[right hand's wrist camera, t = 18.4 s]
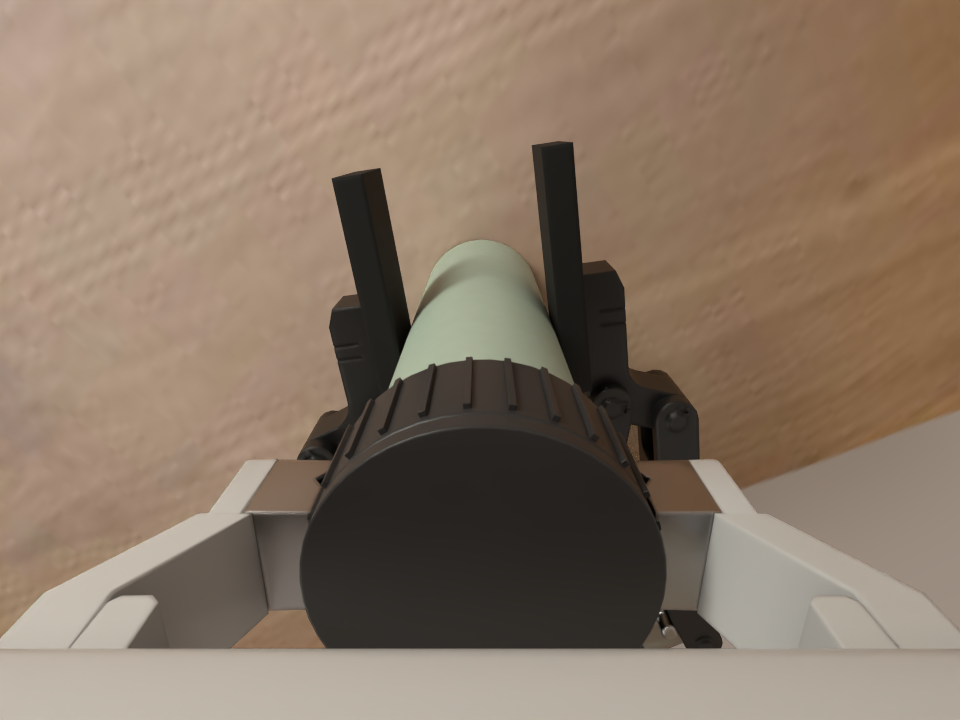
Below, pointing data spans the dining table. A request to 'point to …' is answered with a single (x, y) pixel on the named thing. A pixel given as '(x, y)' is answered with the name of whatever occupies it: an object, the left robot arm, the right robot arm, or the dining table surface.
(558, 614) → the lid
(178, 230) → the dining table surface
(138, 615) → the right robot arm
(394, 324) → the left robot arm
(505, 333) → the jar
